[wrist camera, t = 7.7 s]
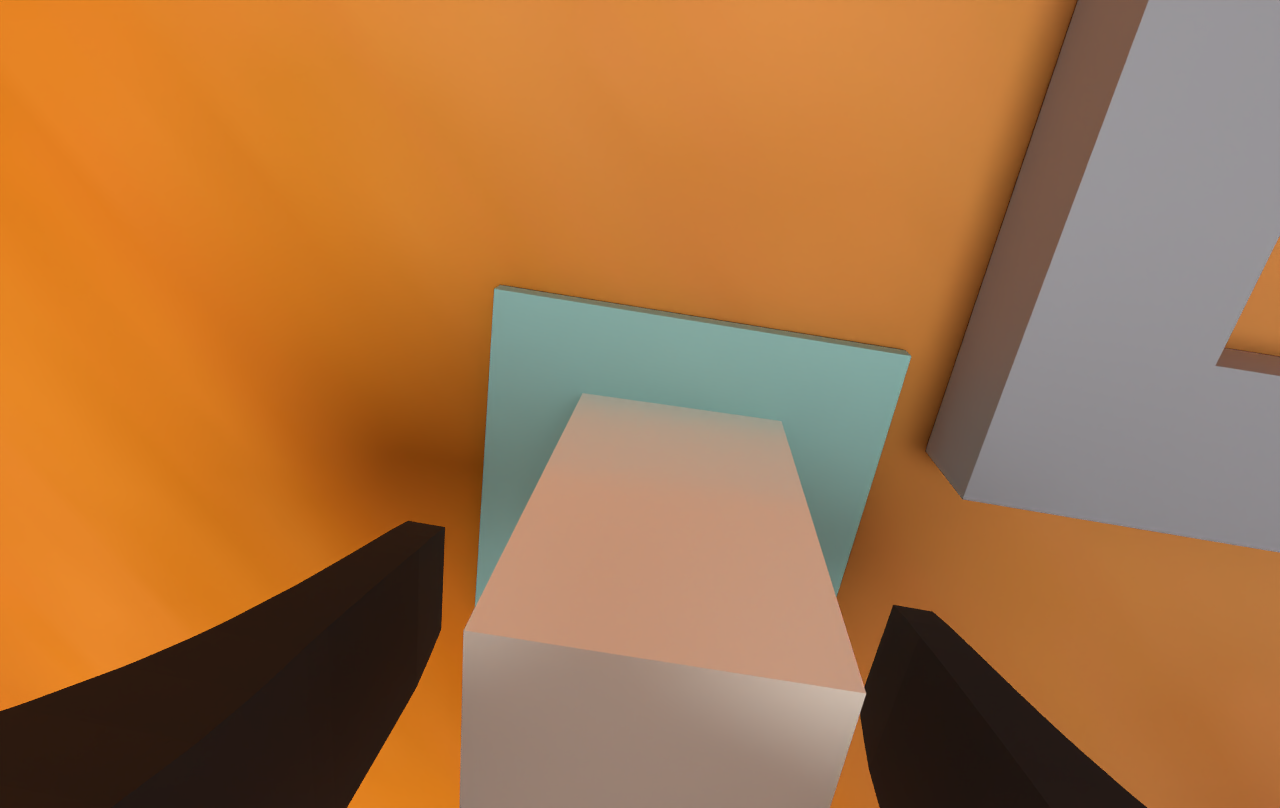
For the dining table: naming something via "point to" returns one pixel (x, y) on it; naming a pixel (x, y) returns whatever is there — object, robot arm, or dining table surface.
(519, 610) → the block
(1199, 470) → the pocket board
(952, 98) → the dining table surface
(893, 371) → the pad
